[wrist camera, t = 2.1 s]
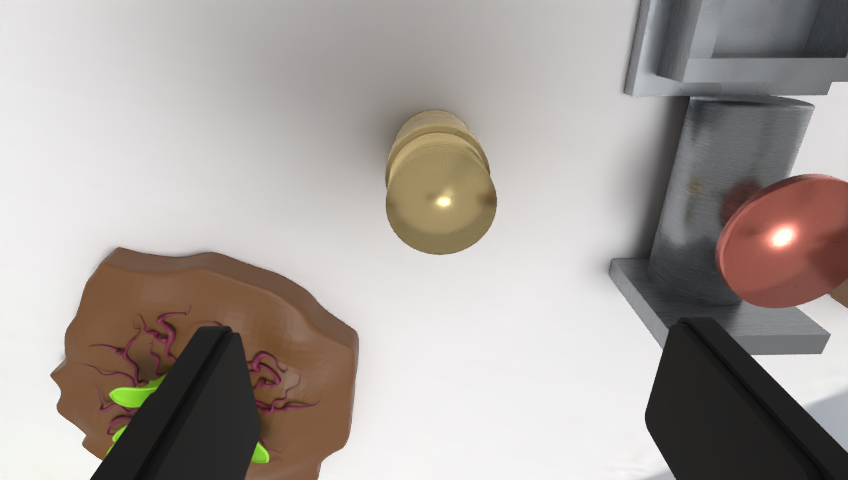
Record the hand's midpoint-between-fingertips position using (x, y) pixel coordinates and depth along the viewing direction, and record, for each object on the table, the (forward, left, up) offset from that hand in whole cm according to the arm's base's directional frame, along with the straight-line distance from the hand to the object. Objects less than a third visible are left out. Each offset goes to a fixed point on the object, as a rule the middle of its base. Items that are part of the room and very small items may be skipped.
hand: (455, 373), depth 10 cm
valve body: (-3, +15, -17) cm, 23 cm away
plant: (+16, -15, -18) cm, 28 cm away
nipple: (0, 0, -17) cm, 17 cm away
